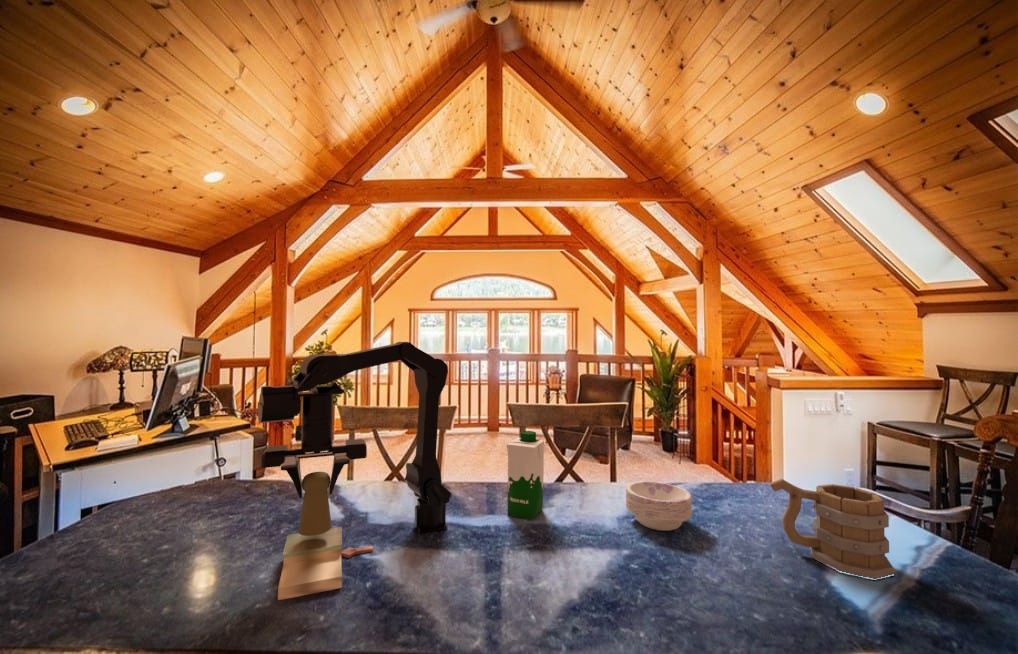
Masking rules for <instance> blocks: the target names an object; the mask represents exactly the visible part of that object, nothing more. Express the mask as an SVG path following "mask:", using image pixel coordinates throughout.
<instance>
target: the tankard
mask: <svg viewBox="0 0 1018 654" xmlns="http://www.w3.org/2000/svg"><path fill="white" fill-rule="evenodd" d="M769 485H770V488H771V489H772V490H773V492H778V491H781V490H784V491H785V492H787V493H788V494H789V496H788V505H787V507H786V509H785V512H783V516H782V528H783V530H784V533H785V534H786V536H787V537H788V539H789V541H790V543H793V544H796V545H800V546H801V547H807V548H809V551H810V550H811V551H810V553H811V555H813V556H812V559H813V558H814V559H817V560H819V561H822V562H823V563H826V564H828V565H830V566H832V567H834V568H836V569H837V570H839V571H842V572H846V573H850V574H854V575H858V576H863V577H869V578H873V579H877V578H881V577H885V576H888V575H892V574H895V575H896V573H895V571H896V570H895V567H893V565H892V563H891V562H890V561H889V559H888V557H887V556H886V554H888V553H890V540H888V538H887V537H886V535H885V534H886V533H885V528H889V527H890V525H889V523H890V521H889V520H890V517H889V516H890V515H888V513H887V512H886V511H885V501H884V500H883V499H882V498H881V496H879V495H878V494H876V493H874V492H871V491H869V490H865V489H861V488H859V487H853V486H848V485H847V486H846V485H843V484H841V485H840V484H834V483H833V484H831V483H830V484H829V483H828V484H822V485H817V486H816V490H810V489H809V490H808V489H803V488H800V487H798V486H797V485H794V484H792V483H790V482H788V481H787V480H785V479H784V478H779V479H777V480H774V481H772V482H770V483H769ZM803 499H804V500H810V501H812V508H813V510H814V512H815V514H816V518H814V519H813V520H812V521H813V524H812V525H813V527H812V528H813V532H814V534H815V535H803V534H801V533H799V532H797V529H796V526H795V525H796V523H795V522H796V520H797V518H798V516H799V514H800V512H801V508H802V500H803ZM814 559H813V560H814Z"/></svg>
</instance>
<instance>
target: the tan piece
mask: <svg viewBox="0 0 1018 654" xmlns="http://www.w3.org/2000/svg"><path fill="white" fill-rule="evenodd" d="M342 529H343V528H342V526H339V527H333V528H332V527H331V529H330V530H329V531H327V532H325V533H322V534H319V535H314V536H304V535H301V534H299V533H294V534H287V538H286V541H285V544H284V548H283V553H282V559H283V566H282V570H281V574H280V575H281V576H280V579H279V583H278V588H277V601H282V600H287V599H292V598H297V597H302V596H306V595H307V596H308V595H311V594H317V593H322V592H327V591H333V590H336V589H337V590H338V589H342V585H343V583H342V582H343V581H342V580H343V573H342V567H343V566H342V557H345V558H347V559H351V558H352V557H354V556H355V555H358V554H364V553H365V554H366V553H370V552H373V551H374V547H373V545H369V546H365V547H364V546H363V547H357V548H354V547H350V546H349V547H347V548H345V549H344V550H342V549H343V532H342V531H343V530H342Z"/></svg>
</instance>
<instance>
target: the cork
mask: <svg viewBox="0 0 1018 654" xmlns="http://www.w3.org/2000/svg"><path fill="white" fill-rule="evenodd" d="M330 480H331V476H330V475H329V473H328V472H327V471H313V472H310V473H307V474H306V475H304V476H303V478H302V488H303V490H302V491H304V493H303V501H302V506H301V513H300V518H299V526H298V530H297V531H298V534H301V535H304V536H314V535H319V534H322V533H325V532H327V531H329V530H330V529H332V527H333V526H332V519H331V518H332V517H331V511H330V510H331V509H330V502H329V492H328V489H329V488H330Z"/></svg>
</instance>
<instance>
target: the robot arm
mask: <svg viewBox="0 0 1018 654" xmlns="http://www.w3.org/2000/svg"><path fill="white" fill-rule="evenodd" d="M397 361H398V362H399V361H401V362H402V363H403V365H405V366H406V367H407V368H408V369H410V370H411V371H413V374H414V383H415V387H416V389H417V393H418V411H417V412H418V413H417V414H418V415H417V426H416V427H417V429H416V430H417V431H416V444H415V445H416V446H415V455H414V458H413V460H412V462H406V464H405V469H406V473H405V476H404V481H406V484H407V487H408V488H409V489H410V490H411V491H412V492H413V494H414V496H415V497H417V499H416V500H417V503H416V505H415V506H414V525H415V527H416V528H417V529H418V532H419V533H420V534H421V533H422V534H423V533H428V532H434V531H439V530H440V531H441V530H447V529H448V524H447V522H446V521H447V519H446V518H447V517H446V514H447V513H446V512H447V509H446V508H447V506H446V505H447V504H448V503H449V502H450V499H451V496H452V493H451V492H450V490H448V488H446V487H445V486H444V485H443V484H442V483H443V482H442V472H441V468H440V465H439V462H438V459H437V448H438V447H437V445H438V443H437V442H438V427H439V409H440V408H439V407H440V396H441V394H442V392H443V390H444V388H445V386H446V383H447V379H448V375H449V367H448V364H447V363H446V362H445V360H443V359H441V358H437V357H433V356H432V355H430V354H428V353H427V352H425V351H423V350H421V349H420V348H418V347H416V346H415V345H414V344H412V343H411V342H410V341H397V342H395V343H392V344H388V345H383V346H378V347H373V348H366V349H364V350H358V351H353V352H349V353H329V354H328V353H325V354H311V355H309V356H306V357H305V358H304V360H303V361H302V362H301V365H300V368H299V369H300V371H299V372H298V373H297V374H296V376H294V378H293V379H292V381H291V382H290V383H289V385H281V386H280V385H279V386H270V385H262V386H261V387H260V393H259V398H258V402H257V419H258V423H259V424H266V423H267V424H268V423H275V422H284V421H285V422H286V421H293V420H294V419H295V417H297V416H299V415H300V413H301V425H299V424H298V425H296V426H295V435H294V437H295V441H296V442H297V443H298V442H301V443H300V447H301V448H294V449H289V446H288V444H283V445H282V444H281V445H270V446H267V447H266V449H264V451H263V452H262V454H261V463H260V464H261V465H260V467H261V468H262V469H266V468H267V469H268V468H278V467H280V471H286V473H287V474H288V476H289V477H290V479H291V480H292V482H293V485H294V487H295V490H296V492H297V495H298V497H299V499H303V491H304V490H303V488H302V480H303V478H302V471H301V459H308V458H309V459H311V458H318V457H319V458H321V457H323V458H324V457H329V456H330V457H332V456H333V462H332V469H331V474H330V475H331V476H330V485H329V492H328V495H333V492H334V490H335V489H334V488H335V486H336V483H337V480H338V477H339V475H340V473H341V472H342V470H343V468H344V466H345V465H349V464H350V462H351V461H352V460H360V459H366V458H367V456H368V453H367V452H368V449H367V444H366V441H365V439H363V438H357V439H346V440H345V444H342V445H334V444H333V442H334V440H333V438H334V436H333V435H334V431H333V430H334V423H333V422H334V395H341V394H345V390H344V389H343V388H341V387H340V386H339V385H338V383H337V382H336V381H337V380H339V379H341V378H343V377H345V376H347V375H349V374H351V373H354V372H355V371H359V370H363V369H368V368H372V367H376V366H381V365H385V364H389V363H394V362H397ZM329 383H330V384H329ZM327 384H329V385H327ZM301 397H302V398H301ZM350 460H351V461H350Z"/></svg>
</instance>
